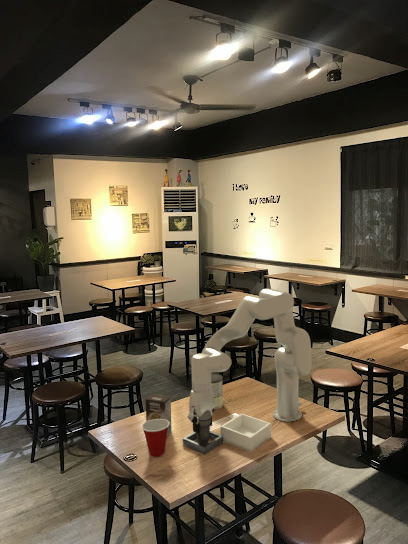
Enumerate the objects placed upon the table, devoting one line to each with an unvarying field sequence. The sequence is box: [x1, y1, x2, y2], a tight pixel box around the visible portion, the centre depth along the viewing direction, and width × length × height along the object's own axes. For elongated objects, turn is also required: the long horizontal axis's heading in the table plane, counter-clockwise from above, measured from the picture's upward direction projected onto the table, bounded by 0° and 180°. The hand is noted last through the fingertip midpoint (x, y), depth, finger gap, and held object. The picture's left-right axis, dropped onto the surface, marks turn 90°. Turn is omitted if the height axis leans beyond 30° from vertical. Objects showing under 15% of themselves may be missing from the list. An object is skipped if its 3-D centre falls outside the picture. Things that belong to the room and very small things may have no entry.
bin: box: [220, 413, 272, 453], centre depth 178 cm, size 15×15×6 cm
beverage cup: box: [195, 410, 213, 446], centre depth 173 cm, size 7×7×20 cm
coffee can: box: [211, 372, 224, 411], centre depth 209 cm, size 10×10×14 cm
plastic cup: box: [141, 419, 169, 458], centre depth 168 cm, size 11×11×12 cm
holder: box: [182, 430, 224, 456], centre depth 174 cm, size 11×11×3 cm
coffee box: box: [145, 393, 173, 438], centre depth 183 cm, size 9×6×16 cm
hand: (202, 428), depth 174 cm, fingers closed on beverage cup, 6 cm apart
